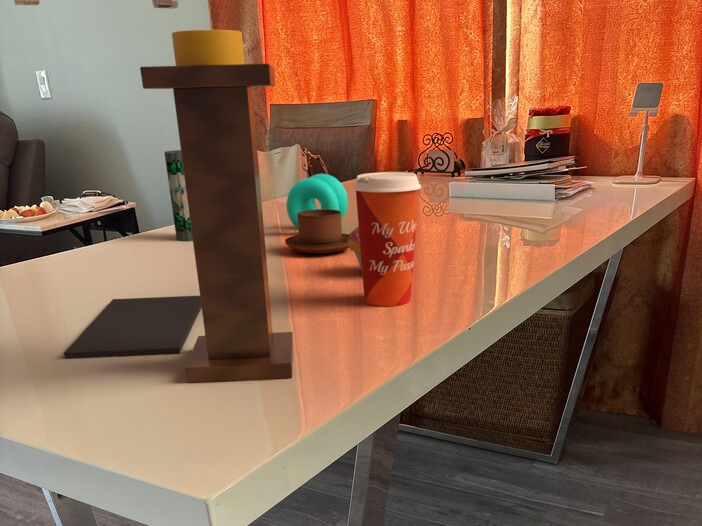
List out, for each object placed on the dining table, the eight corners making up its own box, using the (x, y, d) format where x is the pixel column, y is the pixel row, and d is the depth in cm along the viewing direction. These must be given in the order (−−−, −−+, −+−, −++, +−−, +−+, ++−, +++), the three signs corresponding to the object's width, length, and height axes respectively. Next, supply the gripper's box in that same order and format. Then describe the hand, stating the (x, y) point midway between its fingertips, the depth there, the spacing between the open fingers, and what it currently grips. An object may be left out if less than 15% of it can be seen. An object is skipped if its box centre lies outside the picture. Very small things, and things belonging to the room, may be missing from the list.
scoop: (199, 71, 72) (196, 43, 71) (255, 70, 72) (253, 42, 71) (170, 66, 56) (166, 30, 55) (242, 64, 57) (238, 29, 55)
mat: (64, 358, 75) (63, 352, 75) (113, 303, 94) (112, 299, 94) (179, 353, 75) (179, 347, 75) (205, 299, 95) (204, 295, 94)
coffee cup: (378, 312, 87) (377, 180, 80) (344, 298, 94) (339, 174, 86) (433, 301, 91) (436, 174, 84) (396, 289, 97) (396, 169, 90)
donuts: (350, 227, 142) (348, 173, 137) (337, 236, 133) (335, 179, 128) (302, 226, 144) (299, 173, 139) (286, 235, 135) (282, 178, 130)
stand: (186, 383, 68) (139, 66, 55) (200, 349, 76) (162, 69, 64) (292, 378, 68) (269, 63, 56) (293, 345, 77) (274, 67, 64)
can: (176, 241, 132) (164, 153, 125) (176, 236, 137) (164, 150, 130) (210, 239, 133) (199, 151, 126) (208, 234, 139) (198, 149, 131)
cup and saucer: (279, 247, 125) (276, 210, 122) (344, 241, 128) (343, 205, 125) (295, 260, 115) (292, 220, 112) (365, 254, 118) (364, 215, 115)
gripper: (206, -222, 50) (227, 13, 57) (-132, -273, 42) (-61, 7, 49) (234, -257, 45) (254, 5, 52) (-143, -323, 37) (-62, -3, 44)
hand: (99, 6), depth 50 cm, fingers open, 8 cm apart
